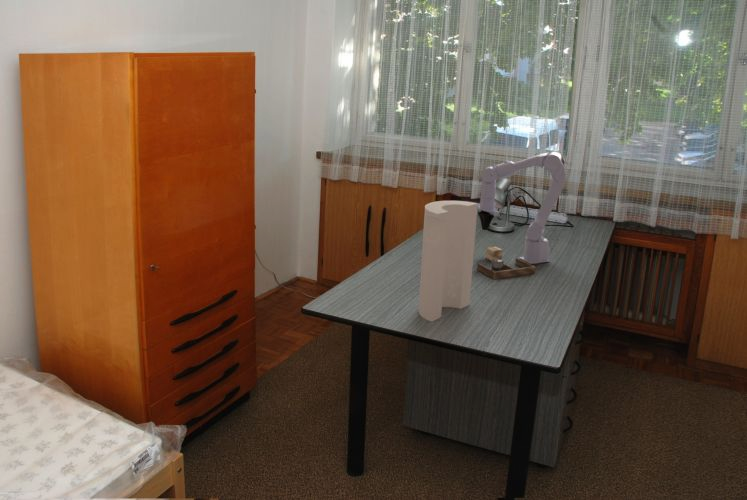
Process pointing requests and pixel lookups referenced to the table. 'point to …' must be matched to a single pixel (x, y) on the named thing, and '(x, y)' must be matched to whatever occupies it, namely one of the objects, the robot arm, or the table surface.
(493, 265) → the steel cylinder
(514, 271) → the rack
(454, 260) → the white curved column
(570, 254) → the table surface
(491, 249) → the maple block
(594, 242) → the table surface
